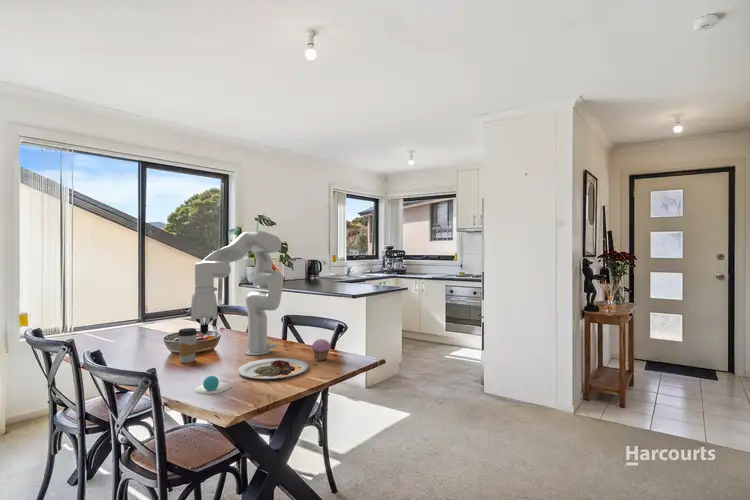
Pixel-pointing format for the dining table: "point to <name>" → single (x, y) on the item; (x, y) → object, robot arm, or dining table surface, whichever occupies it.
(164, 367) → the dining table surface
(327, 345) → the cupcake
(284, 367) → the plated food
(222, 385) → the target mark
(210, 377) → the ball
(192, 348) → the coffee cup
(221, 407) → the dining table surface
